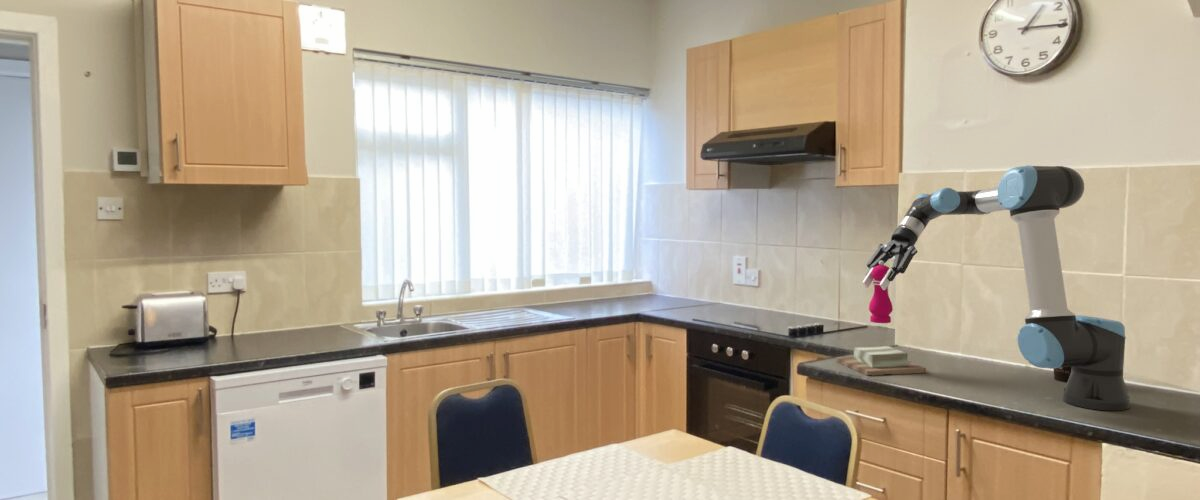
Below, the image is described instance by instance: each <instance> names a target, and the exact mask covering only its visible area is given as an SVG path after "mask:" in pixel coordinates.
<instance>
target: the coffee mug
mask: <svg viewBox="0 0 1200 500" xmlns="http://www.w3.org/2000/svg"><path fill="white" fill-rule="evenodd" d="M1052 369H1053V377H1054V380H1055V381H1058V382H1061V383H1067V382H1068V379H1069V377H1070V374H1071V367H1060V368H1055V369H1054V368H1052Z"/></svg>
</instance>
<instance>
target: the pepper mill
mask: <svg viewBox="0 0 1200 500" xmlns="http://www.w3.org/2000/svg"><path fill="white" fill-rule="evenodd" d="M889 269H891V267H890V266H887V265H886V264H885V263H884V261H882V260H881V261H879V265H878V266H875V267H874V268H873V269H872V277H873V278H874V279H873V281H872V282H873V283H872V284H873V286H874V287H873V288H874V292H873V296H872V297H871V300H870V302H869V305H868V310H869V312H870V313H871V315H870V317H869V318H870V319H869V321H870V322H872V323H874V324H891V321H892V317H891V316H890V315H891V314H892V313H893V310H894V308H893V303H892V301H891V299H890V295H889V290H888V288H889V285H888V286H887V288H886V290H883V289H882V288H881V286H880V285H879V284H880V283H881V281H882V279H883V278H884V276H885V275H886V273H887V272H888V270H889Z"/></svg>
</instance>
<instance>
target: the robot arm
mask: <svg viewBox="0 0 1200 500" xmlns="http://www.w3.org/2000/svg"><path fill="white" fill-rule="evenodd" d="M1084 181H1085V180H1084V179H1083V177H1082V176H1081V175H1080V173H1079V172H1077V171H1076V170H1074V169H1073V168H1071V167H1068V166H1062V165H1056V166H1055V165H1053V166H1050V165H1024V166H1015V167H1013V168H1012V167H1011V168H1010V169H1008V170H1007V171H1006V172H1005V173H1004V174H1003V175H1002V178H1001V179H1000V180H999V183H998V185H997V186H995V187H991V188H985V189H979V190H970V191H968V190H967V191H963V190H962V191H958V190H955V189H954V188H951V187H944V188H941V189H938V190H936V191H935V192H933V193H931V194H929V193H921V194H919V195H918V196H917V197H916V198H915V199H914V200H913V202H911V205H910V207H909V208H908V210H907V211H906V214H905V215H904V216H903V218H902V219H901V221H900V222H899V223H898V225H897V226H896V229H895V230H894V232H893V233H892V234H891V239H890V241H888V243H887V244H883V243H879V244H878V245H877V249H876V250H875V252H874V253H873V254H872V256H871V257H870V259H869V260H868V262H867V263H866V266H867V268H868V270H867V271H866V274H865V277H864V279H863V280H862V282H861V283H862V284H863V286H864V287H865V288H866V289H868V288H869V287H870V286H871V284H872V282H873V280H874V278H873V277H872V269H873V268H874V267H875V266H878V265H879V261H881V260H882V261H884V264H885V263H887V262H888V261H889V260H890V259H892V258H894V260H893V263H892V266H890V269H889V270H888V272H887V273H886V275H885V276H884V278H883V279H882V281H881V283H880V284H879V285H880V286H881V288H882V289H883V290H886V288H887V286H888V287H889V286H890V283H891V282H893V281H894V279H896V276H897V275H899V274H904V273H905V272H906V271H907V269H908V267H909V265H910V263H911V261H912V260H913V258H914V256H915V255H917V253H918V249H917V248H916V246H915V244H916V243H917V241H918V239H919V238H920V237H921V235H922V233H923V232H924V231H925V229H926V227H927V226H928V224H929V222H930V221H932V220H935V219H937V218H939V217H941V216H945V215H946V216H947V215H951V216H952V215H977V216H979V215H980V216H981V215H988V214H991V213H994V212H1000V211H1001V212H1002V211H1009V214H1010V215H1009V216H1010V219H1011V220H1012V221H1013V222H1015V223H1017V226H1018V234H1019V240H1020V242H1019V243H1020V247H1021V248H1020V249H1021V255H1022V261H1023V268H1024V269H1023V270H1024V275H1025V282H1026V290H1027V298H1028V304H1029V310H1030V311H1029V313H1028V314H1027V315H1026V316H1025V317H1024V322H1025V325H1023V326H1021V328H1020V329H1019V332H1018V333H1017V339H1016V340H1017V346H1018V349H1019V352H1020V354H1021V355H1022V357H1023V358H1024V359H1025V360H1026V361H1028V363H1029V364H1030V365H1032V366H1034V367H1036V368H1041V369H1053V368H1054V369H1055V368H1060V367H1071V374H1070V377H1069V379H1068V382H1066V385H1065V387H1064V388H1063V390H1062V400H1063V401H1064V402H1065V403H1067V404H1070V405H1072V406H1077V407H1079V408H1084V409H1092V410H1098V411H1110V412H1111V411H1113V412H1114V411H1125V410H1128V409H1130V408H1131V407H1130V406H1131V398H1130V396H1129V395H1128V394H1129V393H1128V389H1127V385H1126V383H1125V380H1124V368H1125V367H1124V365H1125V350H1126V349H1125V346H1126V345H1125V344H1126V339H1127V337H1126V330H1125V329H1126V327H1125V325H1124V324H1123V323H1122V322H1120V321H1119V320H1114V319H1108V318H1103V317H1102V318H1101V317H1098V316H1097V317H1095V316H1089V315H1078V314H1077V315H1076V313H1074V312H1073V311H1071V310H1070V309H1069V307H1068V302H1067V296H1066V291H1065V290H1066V288H1065V283H1064V277H1063V276H1064V274H1063V269H1062V261H1061V255H1060V250H1059V249H1060V248H1059V242H1058V236H1057V230H1056V223H1055V219H1056V218H1057V217H1058V215H1059V214H1060V211H1061V210H1060V209H1064V208H1068V207H1072V206H1074V205H1075V204H1076V203H1078V202H1079V201H1080V199H1081V198H1082V196H1083V194H1084V192H1085V191H1084V190H1085V182H1084ZM1054 369H1053V370H1054Z"/></svg>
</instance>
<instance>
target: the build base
mask: <svg viewBox="0 0 1200 500" xmlns="http://www.w3.org/2000/svg"><path fill="white" fill-rule="evenodd" d="M908 354H909V353H907V352H904V351H903V350H899V349H897V348H894V347H892V346H888V345H884V346H883V345H882V346H881V345H880V346H860V347H859V346H857V347H856V346H855V347H853V356H839V357H838V356H837V357H836V363H838V362H840V363H842V364H841V365H843V364H844V365H843V366H845V365H846V366H845V367H847V366H848V367H847V368H849V367H850V369H851V368H852V369H851V370H853V369H854V370H853V371H856V372H858V373H860V372H861V374H862V373H863V374H862V375H864V374H865V375H864V376H866V375H867V377H869V376H868V375H872V376H885V375H884V374H892V375H908V374H909V375H911V374H926V373H927V368H926V367H925V366H922V365H919V364H916V363H914V362H911V361H909V360H908ZM840 363H839V364H840Z"/></svg>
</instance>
